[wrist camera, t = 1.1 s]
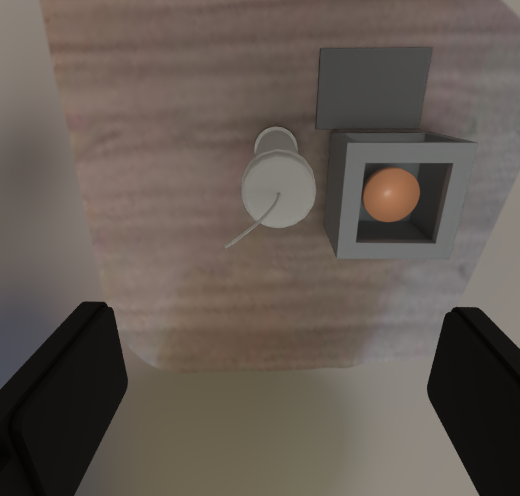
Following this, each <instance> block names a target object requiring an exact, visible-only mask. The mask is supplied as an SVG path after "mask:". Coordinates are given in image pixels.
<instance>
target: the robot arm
mask: <svg viewBox="0 0 520 496" xmlns="http://www.w3.org/2000/svg"><path fill="white" fill-rule="evenodd" d="M127 384H128V378H127V373H126V369H125V364H124V359H123V354H122V349H121V344H120V339H119V334H118V330H117V325H116V320H115V315H114V311H113V309H112V308H111V307H108V306H107V304H106V303H105V302H82V303H81V304H80V305H79V306H78V307H77V308H76V309H75V310H74V311H73V312H72V313H71V314H70V315H69V316H68V318H67V319H66V320H65V321H64V322H63V323H62V324H61V325H60V326H59V327H58V328H57V329H56V330H55V332H54V333H53V334H52V335H51V336H50V337H49V338H48V339H47V340H46V341H45V342H44V343H43V344H42V345H41V347H40V348H39V349H38V350H37V351H36V352H35V353H34V354H33V355H32V356H31V357H30V358H29V359H28V360H27V361H26V363H25V364H24V365H23V366H22V367H21V368H20V369H19V370H18V371H17V372H16V373H15V374H14V375H13V376H12V378H11V379H10V380H9V381H8V382H7V383H6V384H5V385H4V386H3V387H2V388H1V390H0V496H74V494H75V492H76V491H77V489H78V486H79V485H80V483H81V480H82V478H83V476H84V474H85V473H86V470H87V468H88V466H89V464H90V462H91V460H92V458H93V456H94V454H95V452H96V450H97V448H98V446H99V444H100V442H101V440H102V438H103V436H104V434H105V432H106V430H107V428H108V426H109V424H110V422H111V420H112V418H113V416H114V414H115V412H116V410H117V408H118V406H119V404H120V402H121V400H122V398H123V396H124V394H125V392H126V389H127ZM427 392H428V397H429V399H430V401H431V403H432V405H433V407H434V409H435V411H436V413H437V415H438V417H439V419H440V421H441V423H442V425H443V426H444V428H445V430H446V432H447V434H448V436H449V438H450V440H451V442H452V444H453V445H454V447H455V449H456V451H457V453H458V455H459V457H460V459H461V461H462V463H463V465H464V467H465V469H466V471H467V472H468V474H469V476H470V478H471V480H472V482H473V484H474V486H475V488H476V490H477V492H478V493H479V495H480V496H520V349H519V348H518V347H517V346H516V345H515V344H514V343H513V342H512V341H511V340H510V339H509V338H508V337H507V336H506V335H505V334H504V333H503V332H502V331H501V330H500V329H499V328H498V327H497V326H496V325H495V323H494V322H492V320H491V319H490V318H489V317H488V316H487V315H486V314H485V313H484V312H483V311H482V310H480V309H479V308H476V307H455V308H453V309H452V310H451V312H448V313H446V315H445V317H444V321H443V325H442V329H441V333H440V337H439V341H438V345H437V349H436V353H435V357H434V361H433V365H432V369H431V373H430V376H429V381H428V385H427Z"/></svg>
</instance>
